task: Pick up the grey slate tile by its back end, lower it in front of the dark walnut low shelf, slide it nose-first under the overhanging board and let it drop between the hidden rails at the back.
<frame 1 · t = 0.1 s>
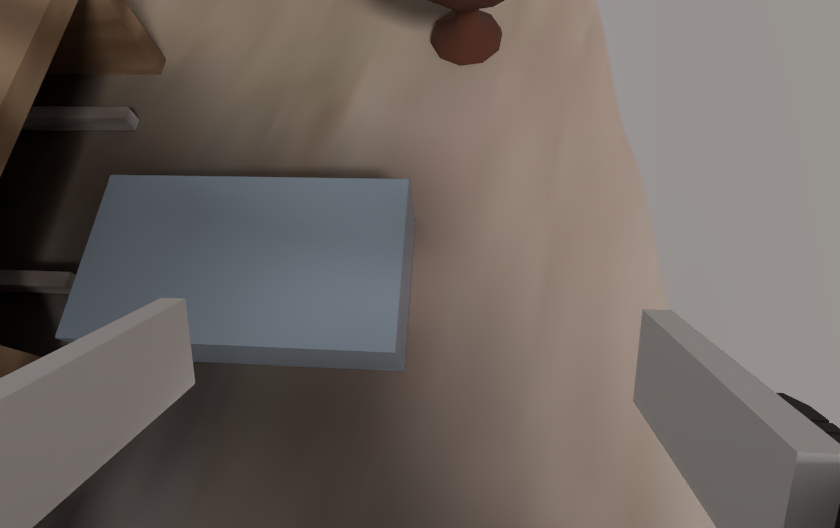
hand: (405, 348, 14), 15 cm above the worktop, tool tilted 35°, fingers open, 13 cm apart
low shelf: (52, 199, 36), on the worktop
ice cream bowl: (466, 40, 39), on the worktop
grey slate tile: (270, 286, 32), on the worktop
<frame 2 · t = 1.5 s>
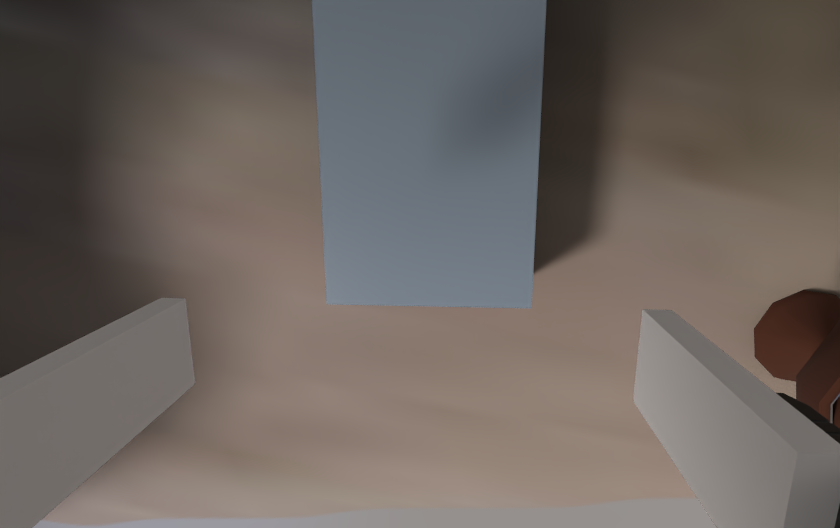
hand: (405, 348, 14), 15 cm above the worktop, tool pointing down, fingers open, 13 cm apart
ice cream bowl: (801, 335, 29), on the worktop
grey slate tile: (433, 119, 27), on the worktop
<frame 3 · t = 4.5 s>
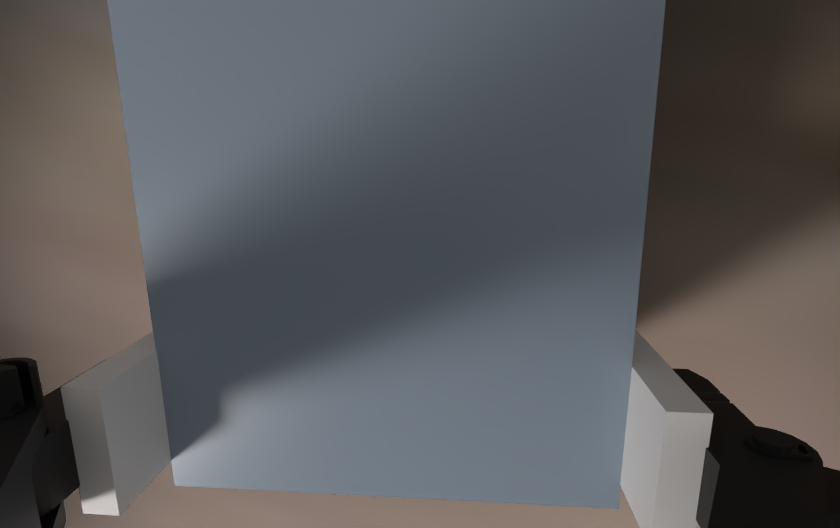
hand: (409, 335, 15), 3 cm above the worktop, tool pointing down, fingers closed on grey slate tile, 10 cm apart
grey slate tile: (406, 95, 14), point 2 cm above the worktop, touching gripper
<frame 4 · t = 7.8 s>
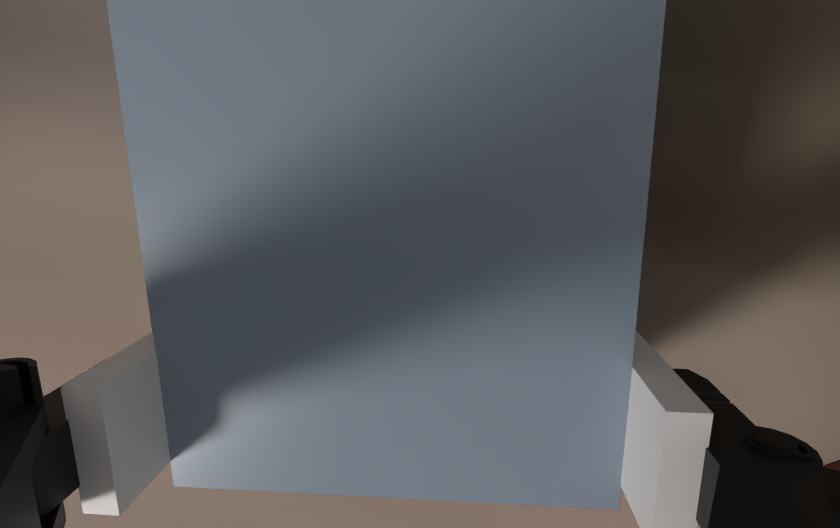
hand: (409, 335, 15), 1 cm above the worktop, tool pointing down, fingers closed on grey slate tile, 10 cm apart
grey slate tile: (406, 95, 14), on the worktop, touching gripper
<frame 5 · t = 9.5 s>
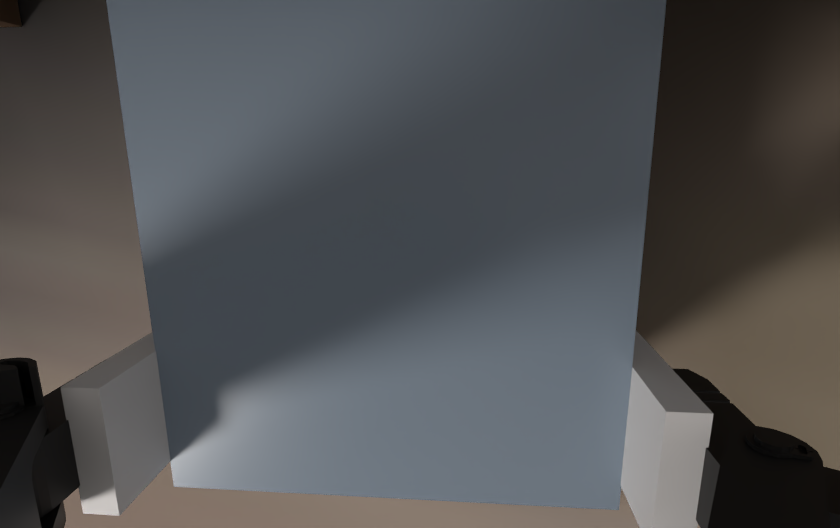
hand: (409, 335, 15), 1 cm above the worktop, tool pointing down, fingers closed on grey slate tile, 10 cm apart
grey slate tile: (406, 95, 14), point 1 cm above the worktop, touching gripper
when the fingers open (1 cm above the worktop, at t = 10.9 s): grey slate tile stays where it is, on the worktop.
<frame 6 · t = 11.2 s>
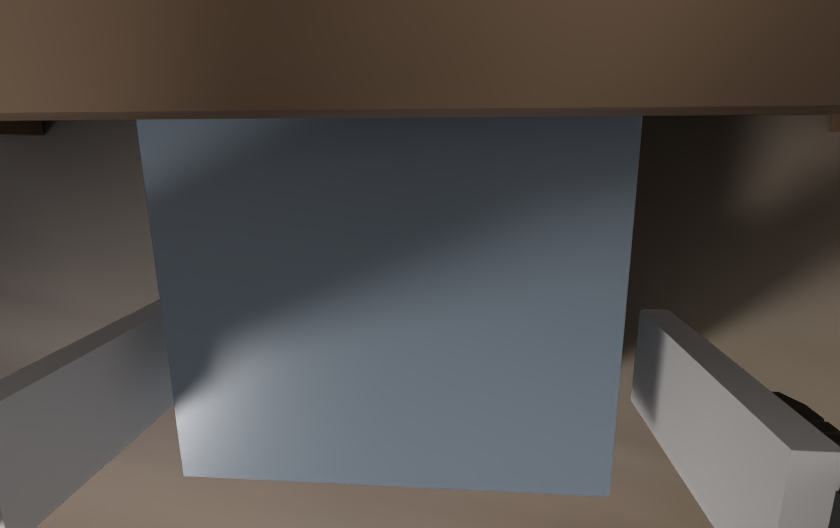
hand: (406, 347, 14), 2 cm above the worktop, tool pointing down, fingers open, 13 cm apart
grey slate tile: (406, 100, 15), on the worktop
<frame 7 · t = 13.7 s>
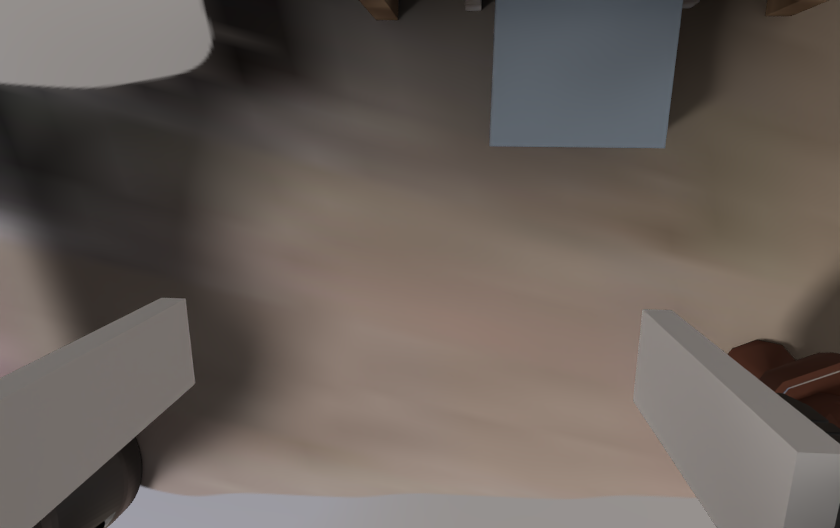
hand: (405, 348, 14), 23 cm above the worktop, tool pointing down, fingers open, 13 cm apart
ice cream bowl: (755, 374, 37), on the worktop
grey slate tile: (573, 2, 32), on the worktop
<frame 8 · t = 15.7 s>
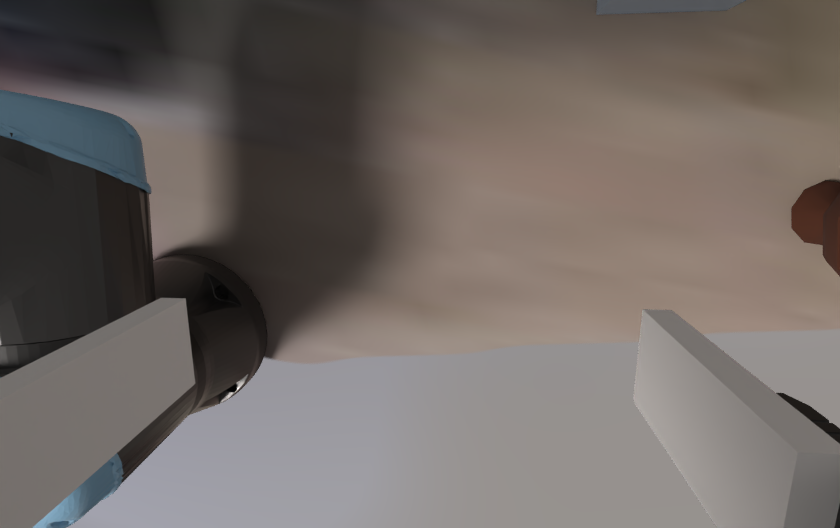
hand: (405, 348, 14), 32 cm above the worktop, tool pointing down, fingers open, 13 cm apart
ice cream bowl: (823, 213, 43), on the worktop
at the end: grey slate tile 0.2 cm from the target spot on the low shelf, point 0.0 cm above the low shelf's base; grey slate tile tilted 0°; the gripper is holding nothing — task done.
